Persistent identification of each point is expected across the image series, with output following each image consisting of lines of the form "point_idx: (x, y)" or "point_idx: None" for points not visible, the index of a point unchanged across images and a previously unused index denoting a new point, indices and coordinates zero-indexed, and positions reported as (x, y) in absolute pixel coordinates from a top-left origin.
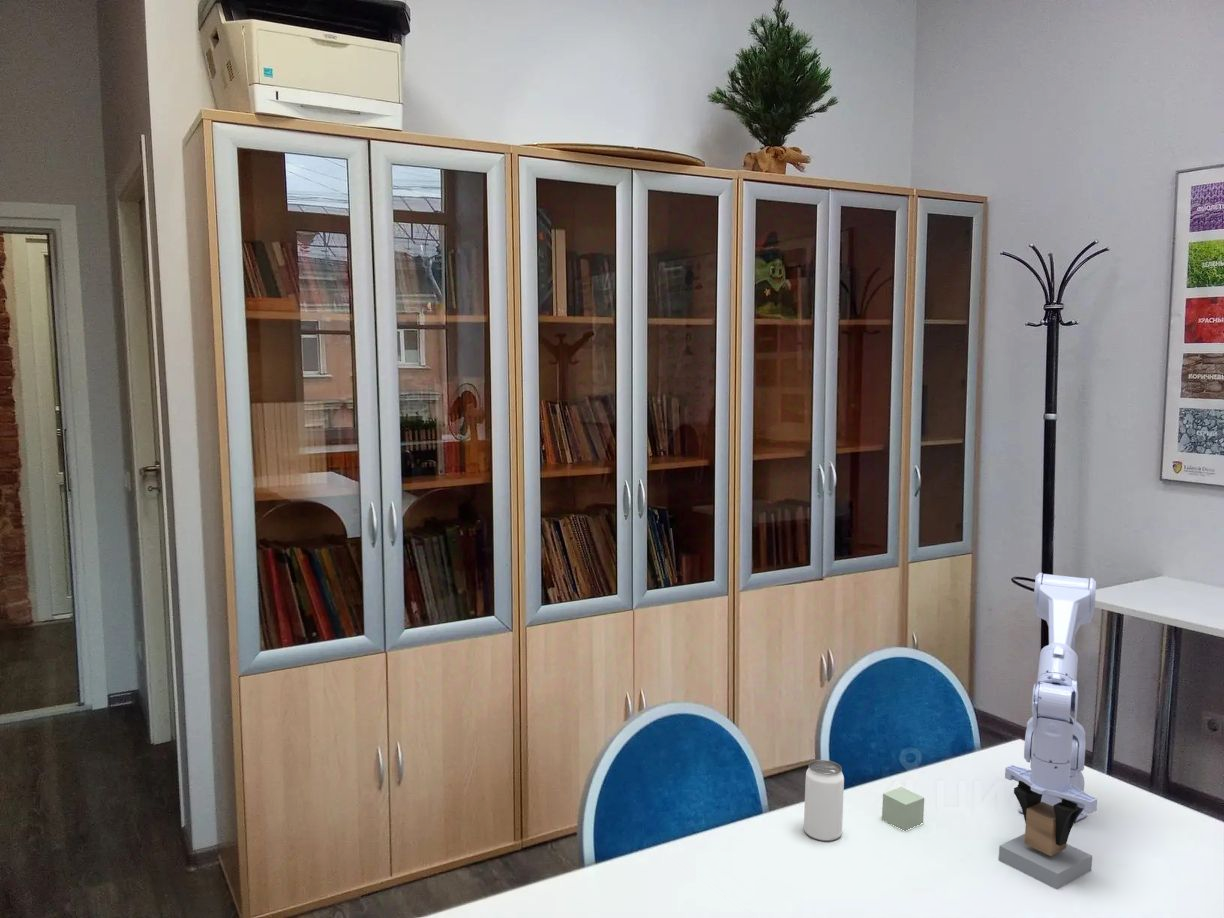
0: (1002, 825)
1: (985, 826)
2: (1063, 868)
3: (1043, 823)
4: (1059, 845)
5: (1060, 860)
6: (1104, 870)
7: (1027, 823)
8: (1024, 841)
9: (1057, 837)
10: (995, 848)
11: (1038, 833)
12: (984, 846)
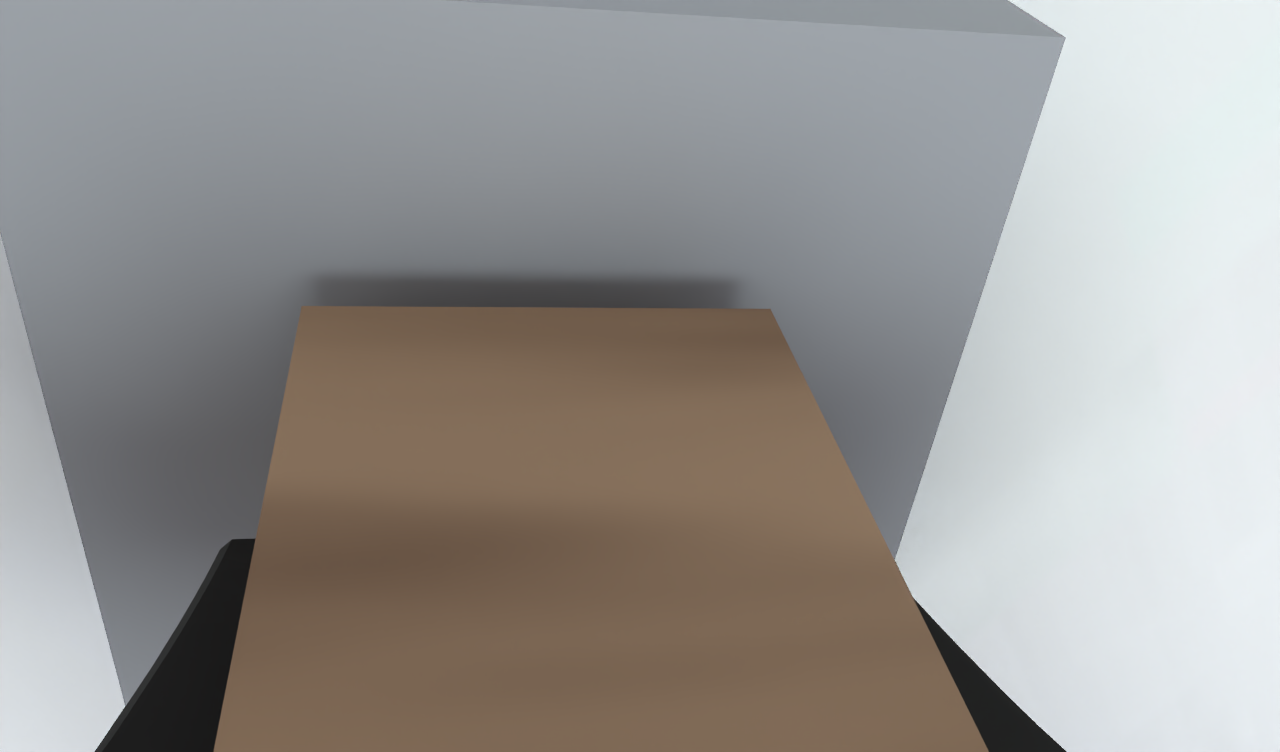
0: (1121, 608)
1: (1253, 488)
2: (39, 224)
3: (493, 733)
4: (234, 544)
5: (245, 391)
6: (115, 690)
7: (858, 569)
8: None
9: (226, 632)
10: (1072, 206)
11: (578, 501)
12: (1191, 140)
